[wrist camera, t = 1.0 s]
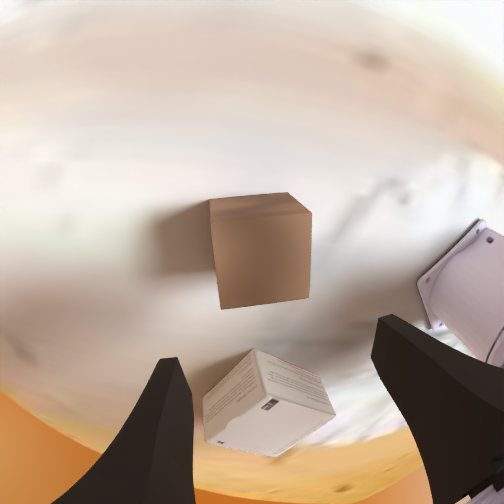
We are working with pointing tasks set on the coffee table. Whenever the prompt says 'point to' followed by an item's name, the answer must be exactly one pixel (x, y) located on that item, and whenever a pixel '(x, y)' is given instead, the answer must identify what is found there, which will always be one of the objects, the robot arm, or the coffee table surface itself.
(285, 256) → the walnut block
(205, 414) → the small box
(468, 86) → the coffee table surface
